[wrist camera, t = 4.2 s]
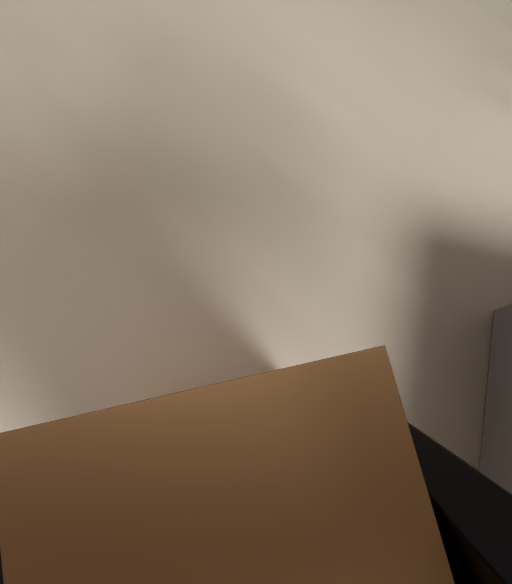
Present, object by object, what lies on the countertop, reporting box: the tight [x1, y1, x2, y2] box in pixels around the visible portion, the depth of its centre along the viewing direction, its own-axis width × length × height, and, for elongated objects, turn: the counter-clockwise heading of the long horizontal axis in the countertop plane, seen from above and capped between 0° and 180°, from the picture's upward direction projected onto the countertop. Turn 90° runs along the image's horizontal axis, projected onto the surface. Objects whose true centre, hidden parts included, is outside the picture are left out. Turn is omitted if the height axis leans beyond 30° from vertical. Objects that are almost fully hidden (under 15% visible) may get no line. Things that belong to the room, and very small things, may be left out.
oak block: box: [0, 345, 455, 584], centre depth 10 cm, size 5×5×9 cm
